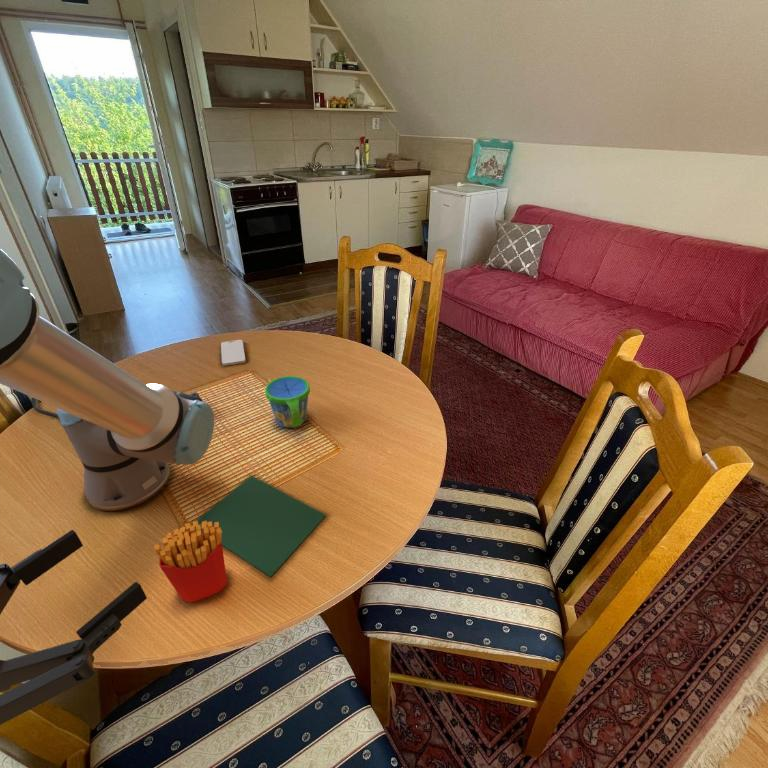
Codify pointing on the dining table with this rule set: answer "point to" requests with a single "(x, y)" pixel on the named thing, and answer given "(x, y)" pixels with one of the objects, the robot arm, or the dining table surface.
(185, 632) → the dining table surface
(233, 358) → the smartphone
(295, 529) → the green cloth
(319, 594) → the dining table surface
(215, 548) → the french fries
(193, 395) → the can opener
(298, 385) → the snack cup
